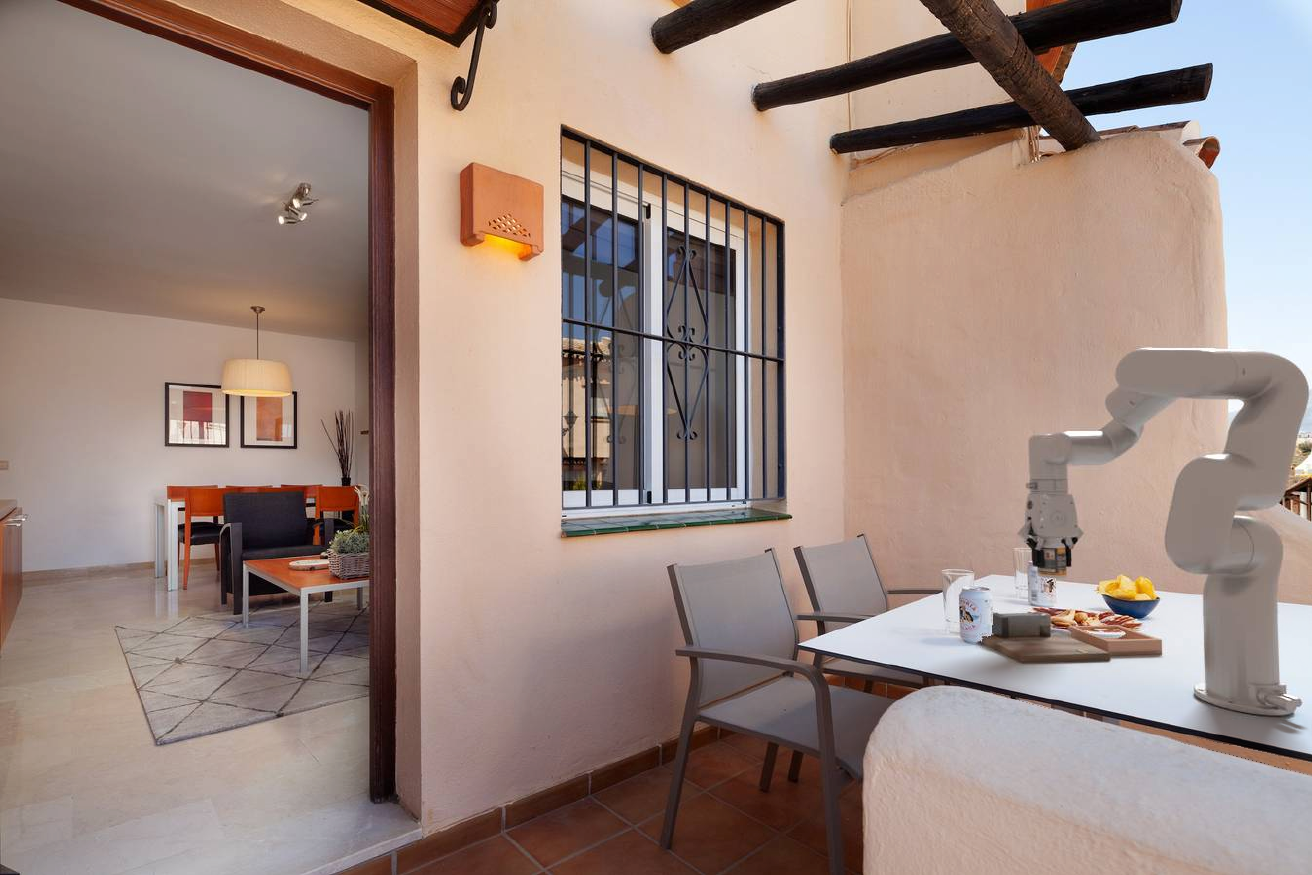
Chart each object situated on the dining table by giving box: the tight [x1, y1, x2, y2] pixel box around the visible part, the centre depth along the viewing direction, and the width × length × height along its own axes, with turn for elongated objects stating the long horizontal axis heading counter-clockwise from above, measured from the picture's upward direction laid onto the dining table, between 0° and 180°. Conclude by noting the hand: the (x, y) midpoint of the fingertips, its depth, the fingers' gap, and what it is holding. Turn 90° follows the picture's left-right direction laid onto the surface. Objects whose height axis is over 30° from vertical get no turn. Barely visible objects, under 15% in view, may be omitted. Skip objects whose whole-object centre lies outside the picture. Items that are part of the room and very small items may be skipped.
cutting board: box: [981, 632, 1111, 664], centre depth 140 cm, size 16×19×2 cm
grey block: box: [991, 611, 1052, 638], centre depth 147 cm, size 13×4×4 cm, turn 94°
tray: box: [1067, 624, 1163, 657], centre depth 143 cm, size 12×12×3 cm
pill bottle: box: [1036, 538, 1068, 579], centre depth 149 cm, size 6×6×10 cm
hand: (1051, 565), depth 149 cm, fingers closed on pill bottle, 5 cm apart
